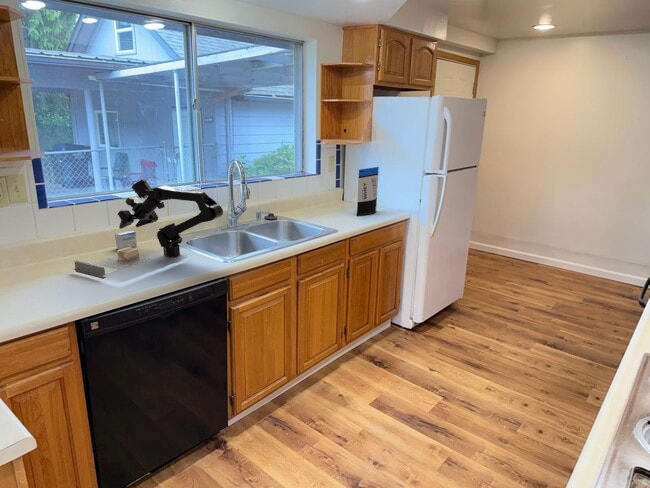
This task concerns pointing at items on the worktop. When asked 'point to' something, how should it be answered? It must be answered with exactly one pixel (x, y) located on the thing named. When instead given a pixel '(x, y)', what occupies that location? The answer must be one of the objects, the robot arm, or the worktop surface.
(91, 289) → the worktop surface
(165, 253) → the robot arm
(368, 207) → the protein powder
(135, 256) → the maple block
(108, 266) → the trap runway
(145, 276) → the worktop surface
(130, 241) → the medicine box
